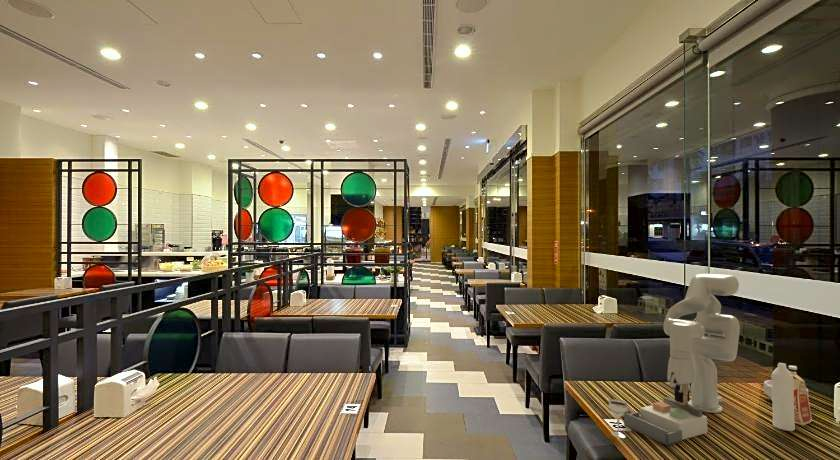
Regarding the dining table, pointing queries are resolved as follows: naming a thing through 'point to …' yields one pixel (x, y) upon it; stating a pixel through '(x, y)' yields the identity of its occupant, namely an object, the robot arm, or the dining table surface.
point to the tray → (652, 430)
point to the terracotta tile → (661, 406)
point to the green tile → (679, 413)
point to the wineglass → (618, 413)
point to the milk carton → (801, 401)
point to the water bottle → (783, 397)
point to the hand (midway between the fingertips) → (682, 400)
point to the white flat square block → (675, 422)
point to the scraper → (684, 405)
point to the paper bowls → (769, 388)
